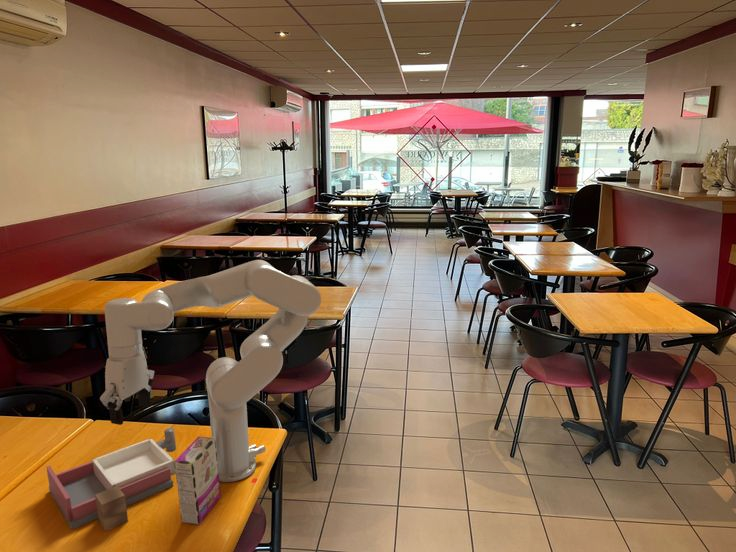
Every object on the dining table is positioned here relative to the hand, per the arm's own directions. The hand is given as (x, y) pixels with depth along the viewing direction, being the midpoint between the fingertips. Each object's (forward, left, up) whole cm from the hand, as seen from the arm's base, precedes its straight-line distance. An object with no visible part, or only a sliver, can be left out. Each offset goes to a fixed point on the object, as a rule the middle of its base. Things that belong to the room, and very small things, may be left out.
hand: (131, 414), depth 133 cm
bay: (+5, -5, -21) cm, 22 cm away
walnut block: (+9, +8, -21) cm, 24 cm away
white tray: (-3, -5, -19) cm, 20 cm away
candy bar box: (-8, +19, -21) cm, 29 cm away
